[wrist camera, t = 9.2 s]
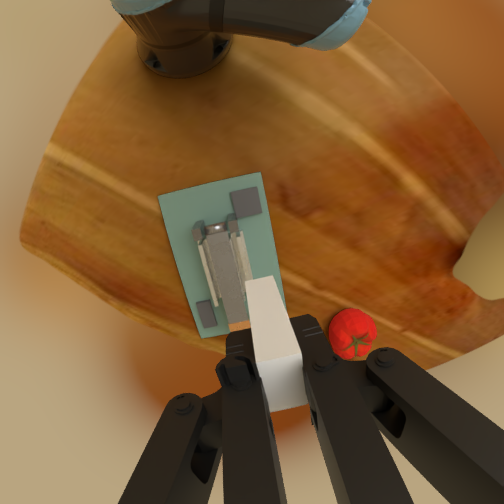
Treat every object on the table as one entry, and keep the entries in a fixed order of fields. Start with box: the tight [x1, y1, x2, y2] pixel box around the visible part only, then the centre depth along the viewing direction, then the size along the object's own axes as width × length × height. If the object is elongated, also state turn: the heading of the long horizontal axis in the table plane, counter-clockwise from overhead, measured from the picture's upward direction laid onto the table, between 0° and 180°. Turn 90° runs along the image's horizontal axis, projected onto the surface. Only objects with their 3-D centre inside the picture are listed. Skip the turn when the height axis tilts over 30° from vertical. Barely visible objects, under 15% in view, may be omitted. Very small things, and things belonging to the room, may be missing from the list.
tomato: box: [329, 308, 377, 359], centre depth 49 cm, size 9×9×8 cm
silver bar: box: [191, 212, 253, 307], centre depth 43 cm, size 17×8×6 cm, turn 11°
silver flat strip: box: [204, 221, 251, 332], centre depth 41 cm, size 18×3×1 cm, turn 12°
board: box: [158, 172, 287, 338], centre depth 46 cm, size 26×16×2 cm, turn 11°
